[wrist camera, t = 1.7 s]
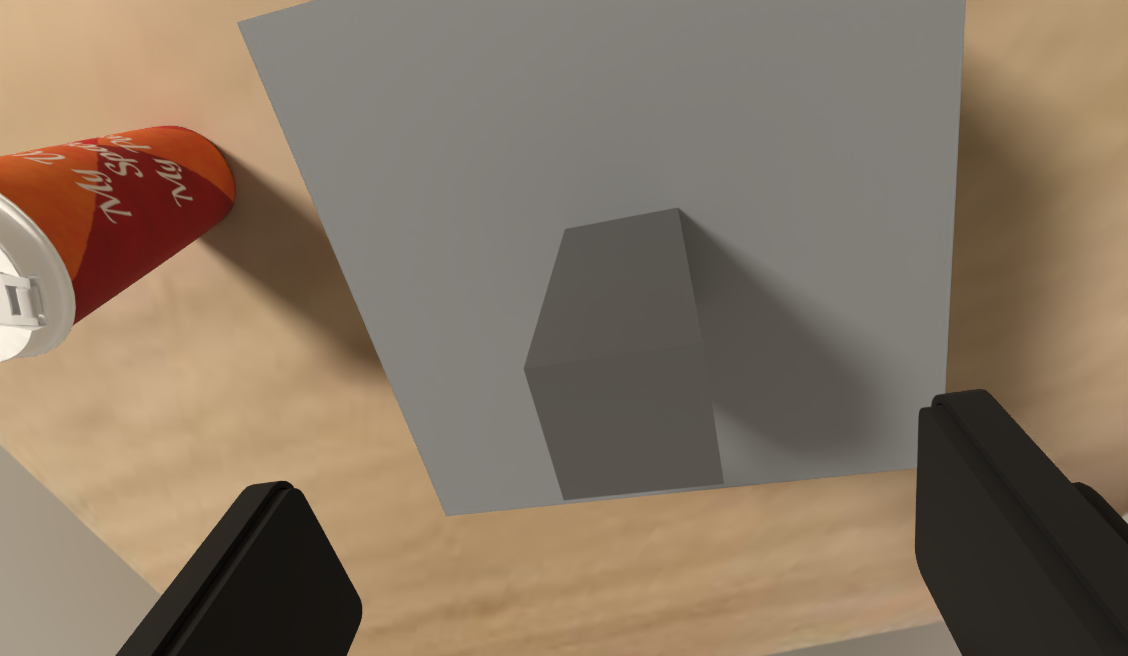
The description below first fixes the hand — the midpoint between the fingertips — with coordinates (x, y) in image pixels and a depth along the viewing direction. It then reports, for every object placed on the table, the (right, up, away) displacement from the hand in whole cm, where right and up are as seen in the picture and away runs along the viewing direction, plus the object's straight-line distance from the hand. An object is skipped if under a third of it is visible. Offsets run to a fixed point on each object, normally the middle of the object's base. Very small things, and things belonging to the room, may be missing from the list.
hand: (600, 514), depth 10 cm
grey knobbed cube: (+3, +13, +23) cm, 27 cm away
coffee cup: (-23, +12, +27) cm, 37 cm away
